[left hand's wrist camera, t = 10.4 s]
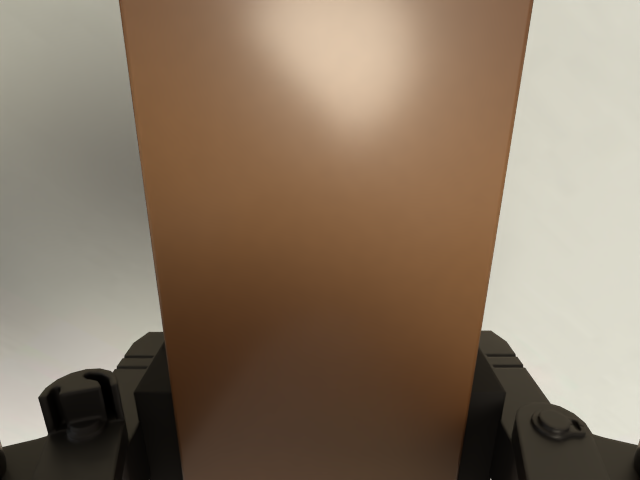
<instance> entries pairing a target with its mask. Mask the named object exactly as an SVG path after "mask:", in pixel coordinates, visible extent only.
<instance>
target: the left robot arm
mask: <svg viewBox="0 0 640 480" xmlns="http://www.w3.org/2000/svg"><path fill="white" fill-rule="evenodd" d="M515 355H516V354H515V353H514V352H513V350H512V349H511V347H510V346H509V344H508V343H507V342H506V341H505V340H503V339H502V338H501V337H499V336H498V335H496V334H495V333H494V332H492V331H481V334H480V340H479V347H478V353H477V359H476V366H475V372H474V378H473V384H472V391H471V397H470V403H469V410H468V416H467V422H466V429H465V435H464V441H463V447H462V454H461V460H460V466H459V473H458V479H457V480H490V479H491V480H640V441H639V444H638V445H634V444H630V443H626V442H621V441H617V440H612V439H608V438H604V437H600V436H597V435H594V434H592V433H591V431H590V430H589V428H588V427H587V425H586V423H585V422H583V421H582V420H581V419H580V418H579V417H577V416H576V415H575V414H574V413H572V412H570V411H568V410H566V409H564V408H562V407H560V406H557V405H553V404H550V402H549V401H548V399H547V398H546V397H545V395H544V394H543V392H542V391H541V389H540V388H539V387H538V385H537V384H536V382H535V381H534V380H533V378H532V377H531V375H530V374H529V373H528V371H527V370H526V368H523V364H522V363H521V361H520V360H519V359H518V357H516V356H515ZM38 399H39V402H40V406H41V409H42V413H43V417H44V420H45V424H46V427H47V431H48V436H46V437H42V438H39V439H35V440H31V441H27V442H22V443H18V444H14V445H9V446H5V447H2V445H1V442H0V480H183V474H182V467H181V459H180V452H179V444H178V437H177V430H176V422H175V415H174V407H173V400H172V392H171V385H170V377H169V370H168V362H167V355H166V347H165V340H164V333H163V332H148V333H147V334H146V335H144V336H143V337H141V338H140V339H138V340H137V341H136V342H134V343H133V344H132V346H131V347H130V349H129V350H128V352H127V353H126V354H125V356H124V358H123V359H122V360H121V361H120V363H119V364H118V366H117V369H115V370H114V371H113V373H112V372H111V371H108V370H104V369H85V370H81V371H77V372H74V373H71V374H68V375H66V376H64V377H62V378H60V379H57V380H56V381H55V382H53V383H52V384H51V385H49V386H48V387H46V388H45V390H44V391H43V392H42V393H41V395H40V396H39V397H38Z"/></svg>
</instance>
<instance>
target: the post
mask: <svg viewBox="0 0 640 480" xmlns="http://www.w3.org/2000/svg"><path fill="white" fill-rule="evenodd" d="M533 1H534V0H119V4H120V12H121V19H122V27H123V34H124V42H125V49H126V56H127V64H128V71H129V79H130V86H131V94H132V101H133V109H134V116H135V124H136V131H137V139H138V146H139V153H140V161H141V168H142V176H143V183H144V191H145V198H146V206H147V213H148V221H149V228H150V236H151V243H152V250H153V258H154V265H155V273H156V280H157V288H158V295H159V303H160V310H161V318H162V325H163V333H164V340H165V347H166V355H167V362H168V370H169V377H170V385H171V392H172V400H173V407H174V415H175V422H176V430H177V437H178V444H179V452H180V459H181V467H182V474H183V480H457V479H458V473H459V466H460V460H461V454H462V447H463V441H464V435H465V429H466V422H467V416H468V410H469V403H470V397H471V391H472V384H473V378H474V372H475V366H476V359H477V353H478V347H479V340H480V334H481V328H482V322H483V315H484V309H485V303H486V296H487V290H488V284H489V278H490V271H491V265H492V259H493V252H494V246H495V240H496V233H497V227H498V221H499V215H500V208H501V202H502V196H503V189H504V183H505V177H506V171H507V164H508V158H509V152H510V145H511V139H512V133H513V127H514V120H515V114H516V108H517V101H518V95H519V89H520V82H521V76H522V70H523V64H524V57H525V51H526V45H527V38H528V32H529V26H530V20H531V13H532V7H533Z"/></svg>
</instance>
